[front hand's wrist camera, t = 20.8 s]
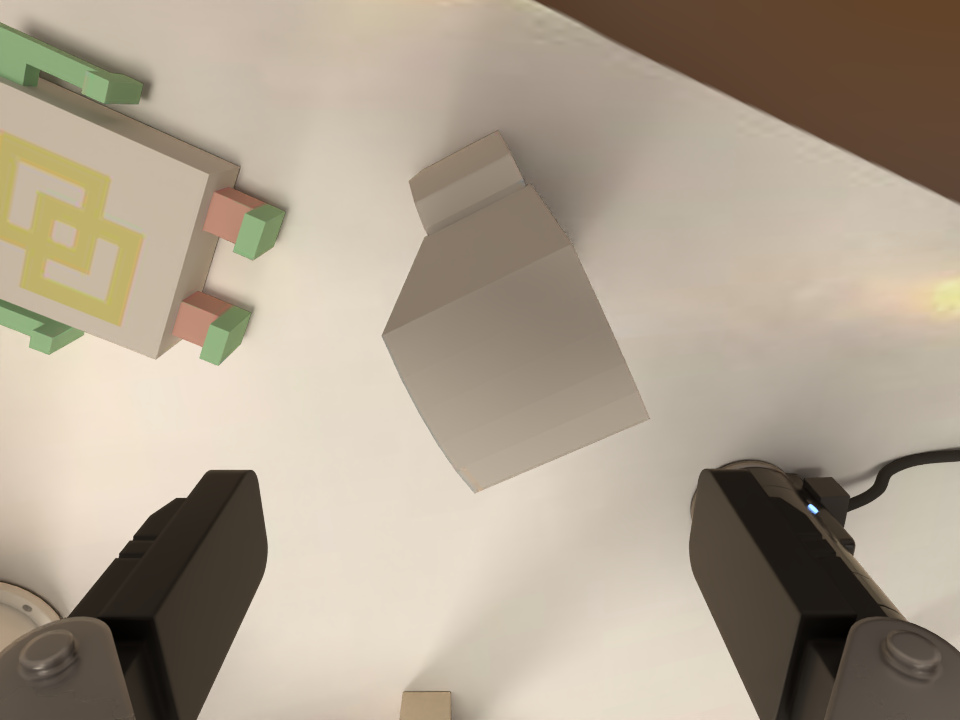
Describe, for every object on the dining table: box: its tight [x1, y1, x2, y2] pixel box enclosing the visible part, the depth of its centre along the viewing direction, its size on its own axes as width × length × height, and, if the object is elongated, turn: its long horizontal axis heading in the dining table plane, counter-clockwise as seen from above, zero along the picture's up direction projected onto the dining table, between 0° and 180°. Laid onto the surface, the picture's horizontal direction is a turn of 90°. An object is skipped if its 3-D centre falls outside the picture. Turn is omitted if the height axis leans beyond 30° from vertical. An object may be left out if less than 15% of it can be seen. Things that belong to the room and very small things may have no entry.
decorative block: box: [0, 22, 285, 366], centre depth 44 cm, size 26×6×20 cm
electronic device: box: [382, 130, 650, 493], centre depth 34 cm, size 12×8×30 cm, turn 27°
